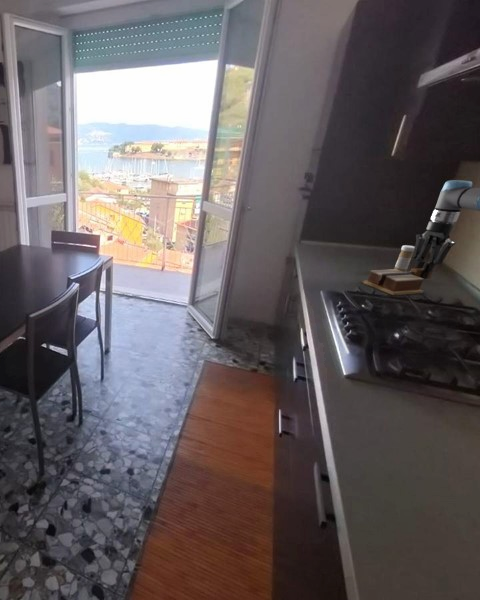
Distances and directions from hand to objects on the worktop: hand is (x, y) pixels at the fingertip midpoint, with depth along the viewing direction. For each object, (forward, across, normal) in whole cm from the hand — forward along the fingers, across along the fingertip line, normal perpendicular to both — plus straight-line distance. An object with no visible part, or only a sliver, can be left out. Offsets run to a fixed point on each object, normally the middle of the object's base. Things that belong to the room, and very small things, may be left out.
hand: (419, 277), depth 150 cm
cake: (+4, 0, -12) cm, 13 cm away
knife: (0, 0, -8) cm, 8 cm away
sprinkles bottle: (+4, -14, +7) cm, 16 cm away
